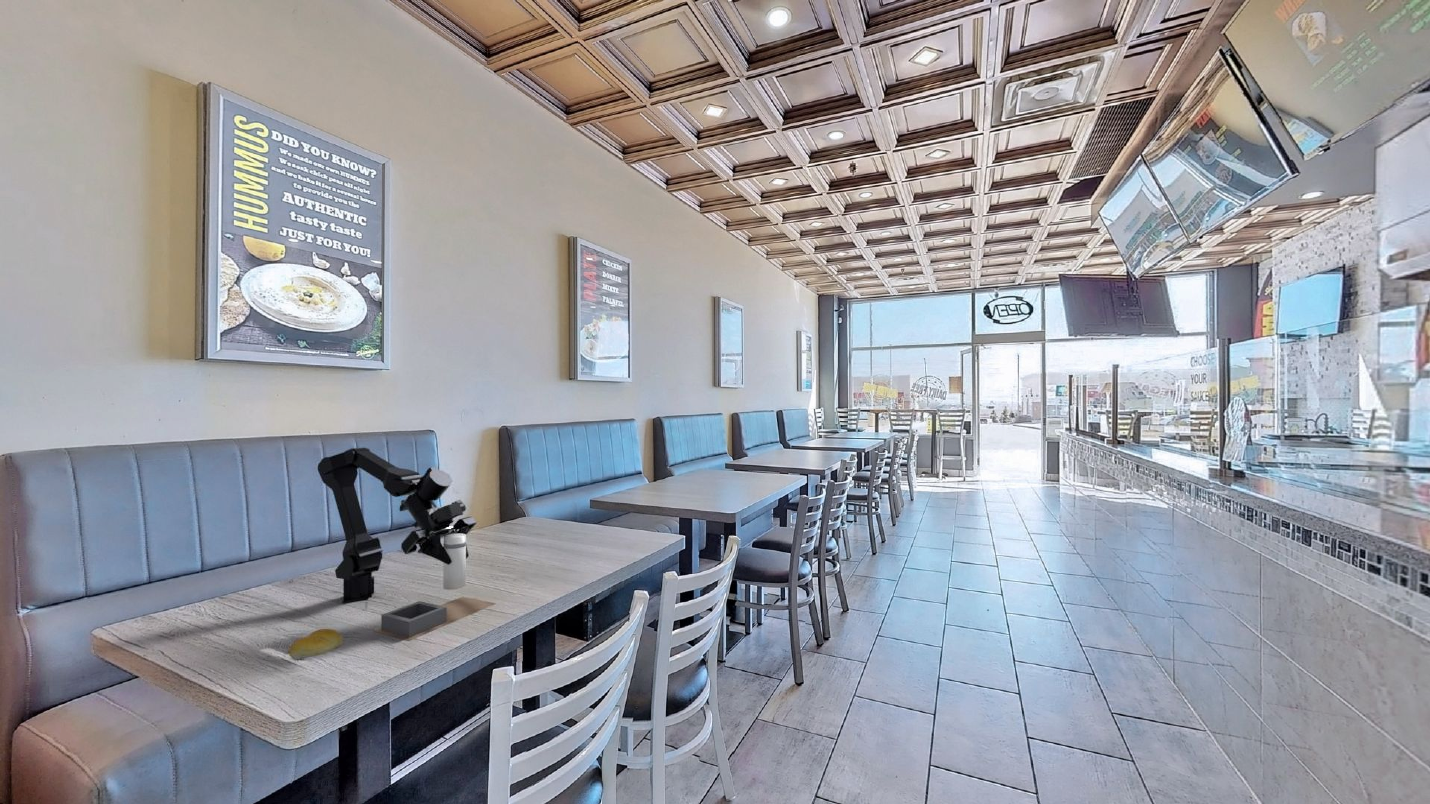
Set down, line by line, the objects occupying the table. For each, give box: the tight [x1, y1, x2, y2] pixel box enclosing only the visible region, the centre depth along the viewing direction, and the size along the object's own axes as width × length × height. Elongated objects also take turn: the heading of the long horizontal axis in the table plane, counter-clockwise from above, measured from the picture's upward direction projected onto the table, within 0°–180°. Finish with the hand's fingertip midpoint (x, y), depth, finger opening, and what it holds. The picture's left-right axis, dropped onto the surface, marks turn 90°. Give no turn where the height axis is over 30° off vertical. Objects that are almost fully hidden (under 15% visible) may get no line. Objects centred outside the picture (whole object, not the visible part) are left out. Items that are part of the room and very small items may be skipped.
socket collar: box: [380, 600, 447, 638], centre depth 123 cm, size 9×9×4 cm
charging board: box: [373, 596, 497, 642], centre depth 129 cm, size 24×12×1 cm, turn 156°
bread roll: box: [288, 628, 344, 661], centre depth 112 cm, size 8×9×4 cm
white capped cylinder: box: [442, 533, 467, 591], centre depth 132 cm, size 5×5×12 cm
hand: (458, 560), depth 132 cm, fingers closed on white capped cylinder, 5 cm apart
